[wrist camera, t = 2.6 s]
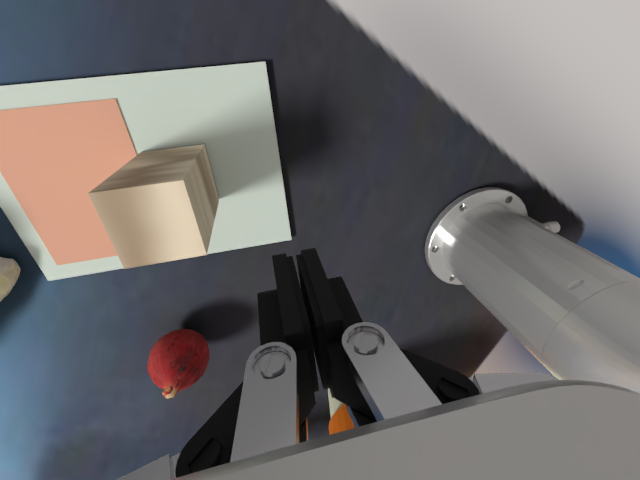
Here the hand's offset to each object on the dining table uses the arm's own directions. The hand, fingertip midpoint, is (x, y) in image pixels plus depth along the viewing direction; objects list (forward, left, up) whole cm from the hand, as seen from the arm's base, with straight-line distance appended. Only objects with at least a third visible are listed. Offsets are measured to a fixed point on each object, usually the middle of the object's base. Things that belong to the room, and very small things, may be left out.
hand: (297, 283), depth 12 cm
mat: (+11, 0, -19) cm, 22 cm away
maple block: (+8, 0, -18) cm, 20 cm away
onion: (+13, +18, -19) cm, 29 cm away
